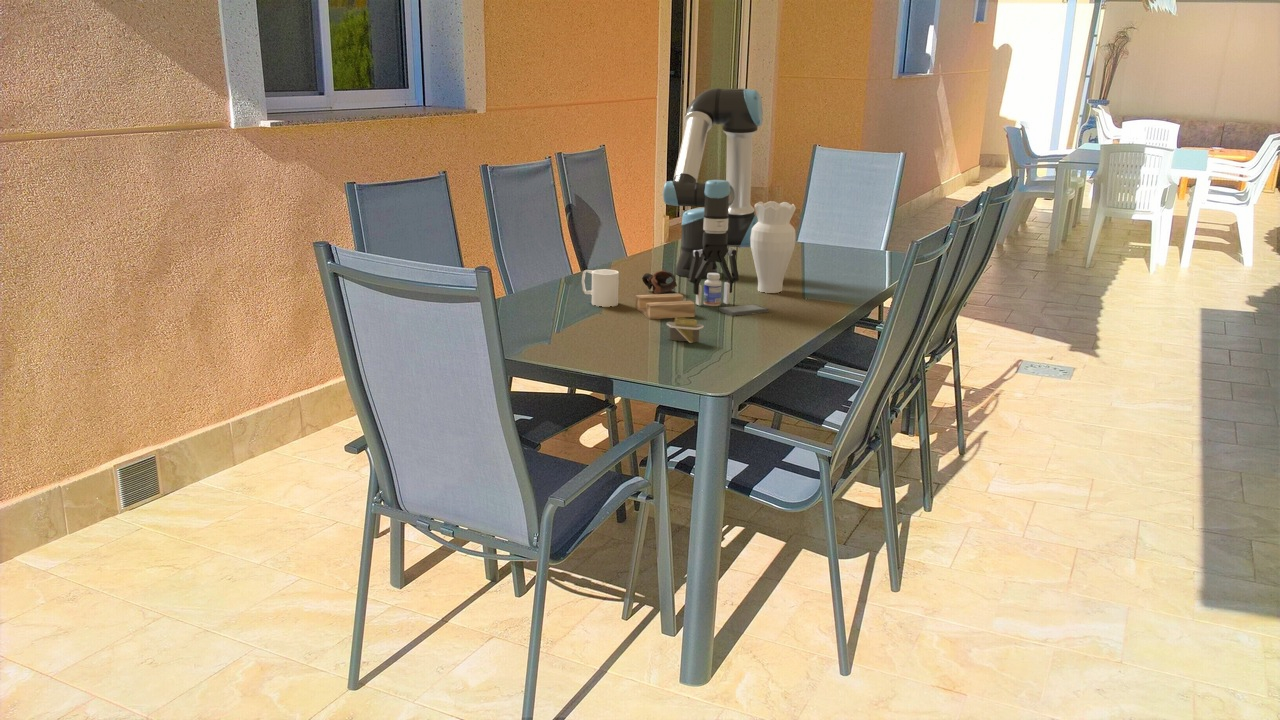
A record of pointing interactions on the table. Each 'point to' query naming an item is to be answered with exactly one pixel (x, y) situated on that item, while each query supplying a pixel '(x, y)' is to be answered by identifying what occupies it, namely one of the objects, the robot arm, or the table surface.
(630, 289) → the table surface
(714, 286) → the pill bottle
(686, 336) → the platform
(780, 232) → the vase
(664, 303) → the socket holder
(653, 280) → the pottery mug
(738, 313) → the phone slab
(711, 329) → the table surface
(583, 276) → the cup
